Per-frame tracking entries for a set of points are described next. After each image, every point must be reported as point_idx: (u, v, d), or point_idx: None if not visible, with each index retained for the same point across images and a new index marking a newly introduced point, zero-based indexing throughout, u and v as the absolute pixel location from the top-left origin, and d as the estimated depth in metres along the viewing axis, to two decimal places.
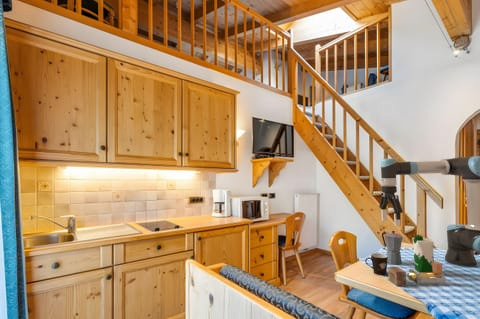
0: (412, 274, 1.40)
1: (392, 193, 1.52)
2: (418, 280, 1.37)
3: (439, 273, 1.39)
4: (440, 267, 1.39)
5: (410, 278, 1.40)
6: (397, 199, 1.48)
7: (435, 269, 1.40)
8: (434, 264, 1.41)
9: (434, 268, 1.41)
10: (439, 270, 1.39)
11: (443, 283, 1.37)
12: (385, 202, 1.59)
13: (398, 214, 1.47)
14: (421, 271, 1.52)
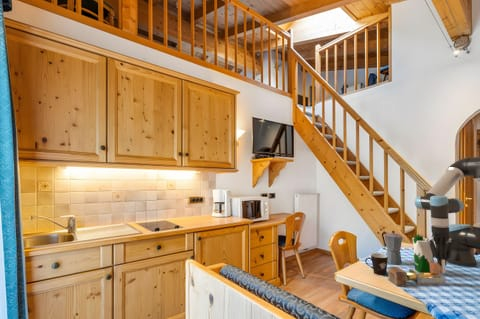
0: (409, 274, 1.40)
1: None
2: (418, 280, 1.37)
3: (436, 273, 1.39)
4: (437, 267, 1.39)
5: (407, 278, 1.40)
6: (431, 244, 1.41)
7: (432, 269, 1.40)
8: (431, 264, 1.41)
9: (431, 268, 1.41)
10: (436, 270, 1.39)
11: (443, 283, 1.37)
12: None
13: (437, 259, 1.41)
14: (421, 271, 1.52)
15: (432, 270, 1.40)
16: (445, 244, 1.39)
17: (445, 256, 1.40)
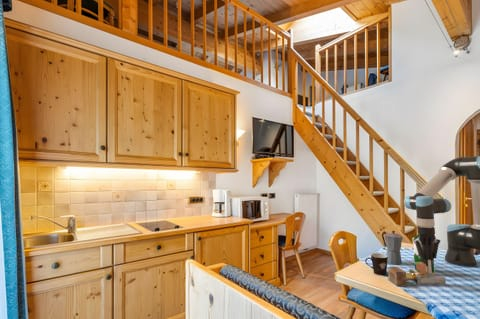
0: None
1: None
2: (418, 280, 1.37)
3: (423, 273, 1.39)
4: (424, 267, 1.39)
5: None
6: (417, 245, 1.41)
7: (419, 269, 1.40)
8: (418, 264, 1.41)
9: (418, 268, 1.41)
10: (423, 271, 1.39)
11: (443, 283, 1.37)
12: None
13: (424, 260, 1.41)
14: None
15: (419, 270, 1.40)
16: (431, 244, 1.39)
17: (431, 256, 1.40)
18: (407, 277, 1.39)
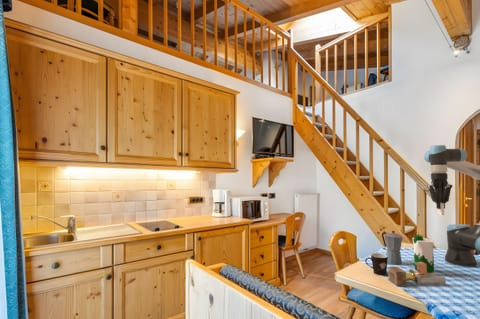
0: None
1: None
2: (418, 280, 1.37)
3: (423, 273, 1.39)
4: (424, 267, 1.39)
5: None
6: (431, 189, 1.53)
7: (419, 269, 1.40)
8: (418, 264, 1.41)
9: (418, 268, 1.41)
10: (423, 271, 1.39)
11: (443, 283, 1.37)
12: (440, 191, 1.54)
13: (437, 203, 1.53)
14: None
15: (419, 270, 1.40)
16: (444, 189, 1.52)
17: (444, 200, 1.52)
18: (407, 277, 1.39)
